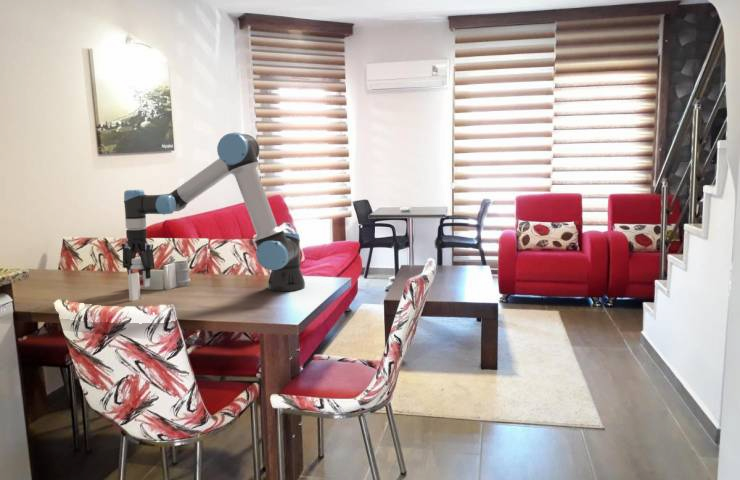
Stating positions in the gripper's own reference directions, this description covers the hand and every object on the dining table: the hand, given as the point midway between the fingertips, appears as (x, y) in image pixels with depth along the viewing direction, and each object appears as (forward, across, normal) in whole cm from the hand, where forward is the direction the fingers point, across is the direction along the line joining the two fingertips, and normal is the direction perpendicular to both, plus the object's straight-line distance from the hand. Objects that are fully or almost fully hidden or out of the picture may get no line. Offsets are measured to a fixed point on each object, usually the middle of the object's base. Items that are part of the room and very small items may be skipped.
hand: (139, 285), depth 231 cm
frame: (+3, -7, 0) cm, 7 cm away
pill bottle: (+1, 0, 0) cm, 1 cm away
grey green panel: (+3, +1, -6) cm, 6 cm away
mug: (+3, -5, -18) cm, 18 cm away
